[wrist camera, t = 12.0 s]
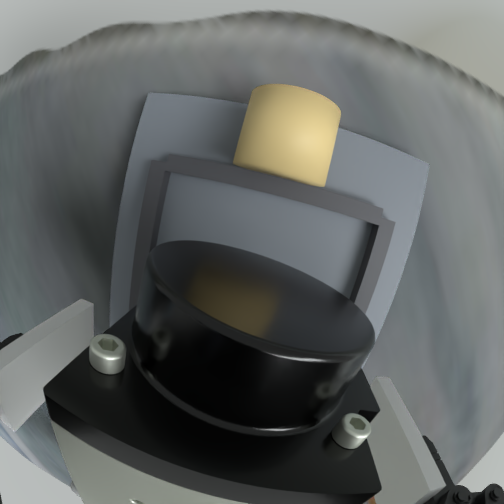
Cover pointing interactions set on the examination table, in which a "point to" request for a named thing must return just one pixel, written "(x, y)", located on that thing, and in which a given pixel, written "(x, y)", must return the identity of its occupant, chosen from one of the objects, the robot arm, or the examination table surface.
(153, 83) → the examination table surface
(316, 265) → the mounting plate
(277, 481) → the pneumatic valve
